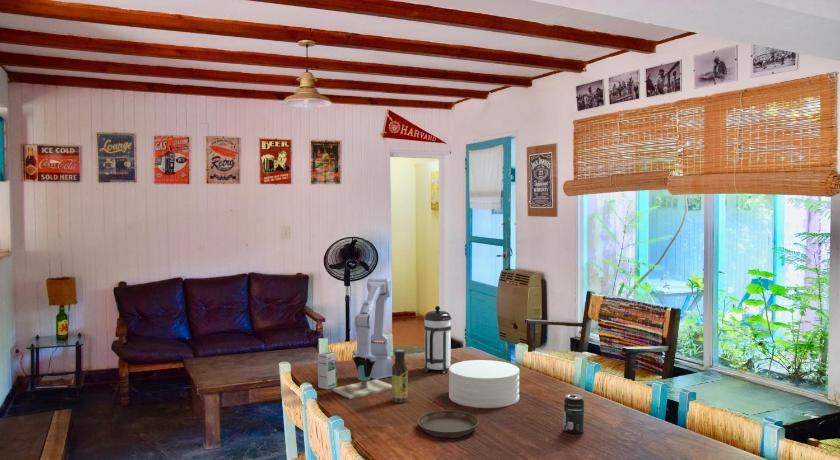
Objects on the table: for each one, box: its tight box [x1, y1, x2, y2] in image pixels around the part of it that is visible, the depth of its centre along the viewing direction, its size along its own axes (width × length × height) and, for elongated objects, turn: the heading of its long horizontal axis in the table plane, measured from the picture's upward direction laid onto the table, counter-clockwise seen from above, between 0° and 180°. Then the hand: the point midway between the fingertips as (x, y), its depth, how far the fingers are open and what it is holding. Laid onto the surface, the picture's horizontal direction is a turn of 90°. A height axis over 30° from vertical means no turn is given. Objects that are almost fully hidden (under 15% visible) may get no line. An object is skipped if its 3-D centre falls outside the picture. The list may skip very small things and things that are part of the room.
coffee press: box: [422, 305, 452, 374], centre depth 288 cm, size 17×16×30 cm
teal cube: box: [357, 365, 371, 381], centre depth 258 cm, size 5×5×5 cm
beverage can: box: [563, 393, 585, 434], centre depth 211 cm, size 7×7×12 cm
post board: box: [332, 379, 392, 400], centre depth 258 cm, size 22×14×5 cm, turn 128°
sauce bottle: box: [391, 349, 409, 403], centre depth 244 cm, size 7×6×20 cm
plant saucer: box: [417, 410, 479, 439], centre depth 213 cm, size 21×21×3 cm
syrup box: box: [317, 350, 338, 390], centre depth 262 cm, size 6×6×14 cm
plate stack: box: [448, 359, 520, 409], centre depth 249 cm, size 28×28×12 cm
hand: (364, 375), depth 258 cm, fingers closed on teal cube, 5 cm apart
